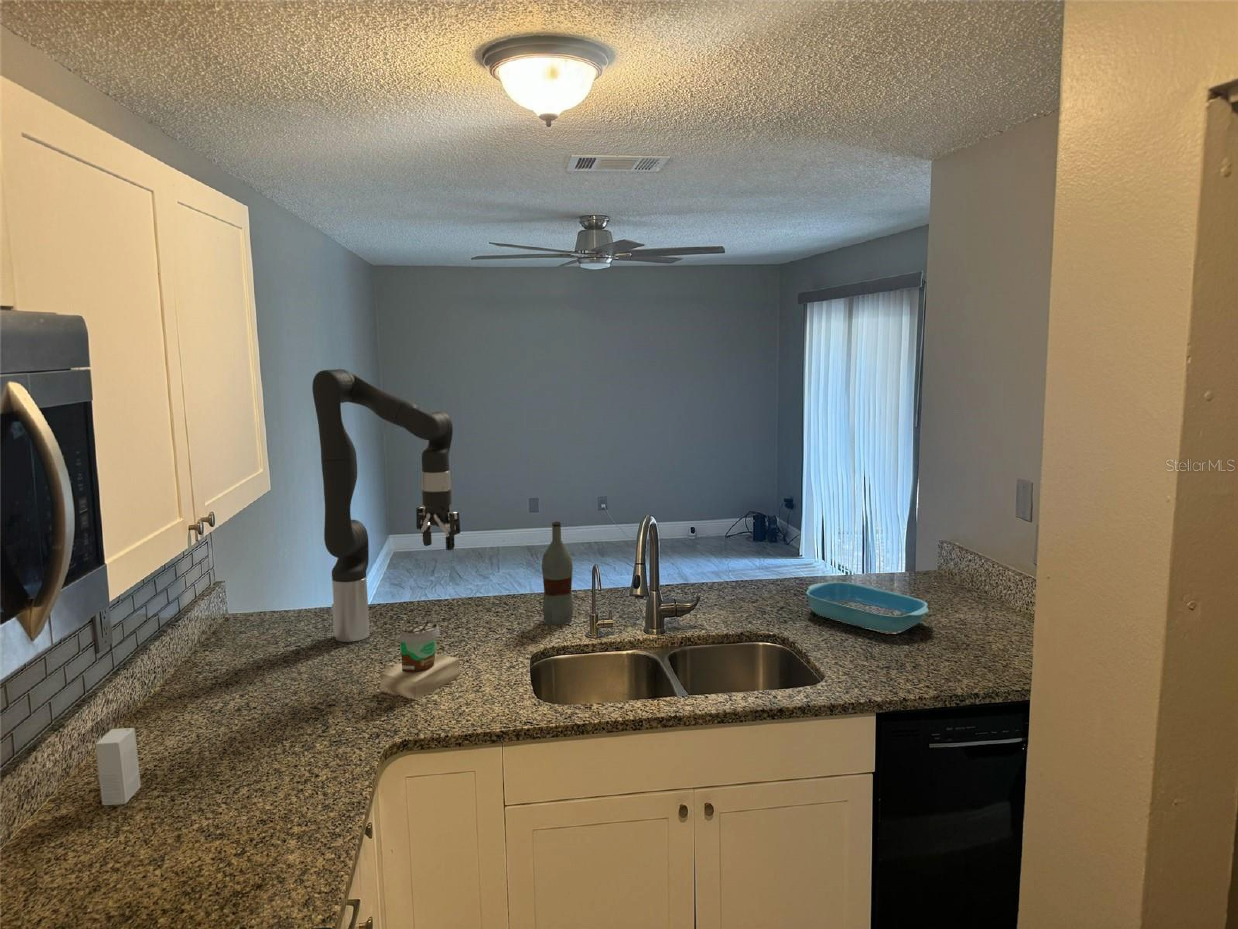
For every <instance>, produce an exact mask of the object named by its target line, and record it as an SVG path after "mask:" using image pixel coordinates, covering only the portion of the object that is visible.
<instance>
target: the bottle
mask: <svg viewBox="0 0 1238 929" xmlns="http://www.w3.org/2000/svg"><path fill="white" fill-rule="evenodd" d="M551 524H552V526H551V528H552V530H551V531H552V533H551V535H552V536H551V537H552V539H551V542H550V544H549V545H548V547H547V549H546V550H545V552H544V553H543V556H542V562H541V574H542V580H543V598H542V614H543V620H544V623H545V624H546V623H547V624H546V625H549V624H550V625H549V626H554V625H559V626H564V625H563V624H566V623H569V624H571V623H572V620H573V616H574V602H573V596H572V595H573V594H572V586H573V585H572V584H573V570H574V565H573V559H572V555H571V552H570V551H569V549H568V548H567V547H566V545H565V544H564V542H563V541H562V522H560V521H552V523H551ZM566 625H567V624H566Z"/></svg>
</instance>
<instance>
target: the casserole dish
mask: <svg viewBox="0 0 1238 929" xmlns="http://www.w3.org/2000/svg"><path fill="white" fill-rule="evenodd" d="M807 589H808V590H807V591H806V592H805V594H806V597H807V601H808V604H809V607H810V609H811V610H812V612H814V613H815V615H817V614H819V615H821V616H825V617H828V618H832V619H837V620H840V621H843V622H846V623H850V624H854V625H857V626H864V627H867V628H871V629H875V630H882V631H889V632H890V631H891V632H898V631H903V630H906V629H908V628H910V627H912V626H914V625H915V624H917V623H919V622H920V621H922V619H923V617H924V616H925V615H927V614H928V613H929V608H928V605H929V604H928V603H927V602H926V601H924V600H922V599H919V598H916V597H915V598H914V597H912V596H909V595H904V594H900V593H896V592H891V591H888V590H883V589H880V588H875V587H871V586H866V585H862V584H859V583H853V582H847V581H831V582H822V583H820V582H818V583H814V584H811V585H809V586H808V588H807ZM835 602H854V603H860V604H862V605H867V606H875V607H880V608H885V609H893V610H897V611H899V612H902V613H907V615H903V616H889V615H882V614H877V613H872V612H868V611H864V610H860V609H856V608H853V607H849V606H845V605H841V604H837V603H835ZM819 615H818V616H819ZM821 616H820V617H821ZM920 623H921V622H920ZM920 623H919V624H920Z"/></svg>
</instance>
